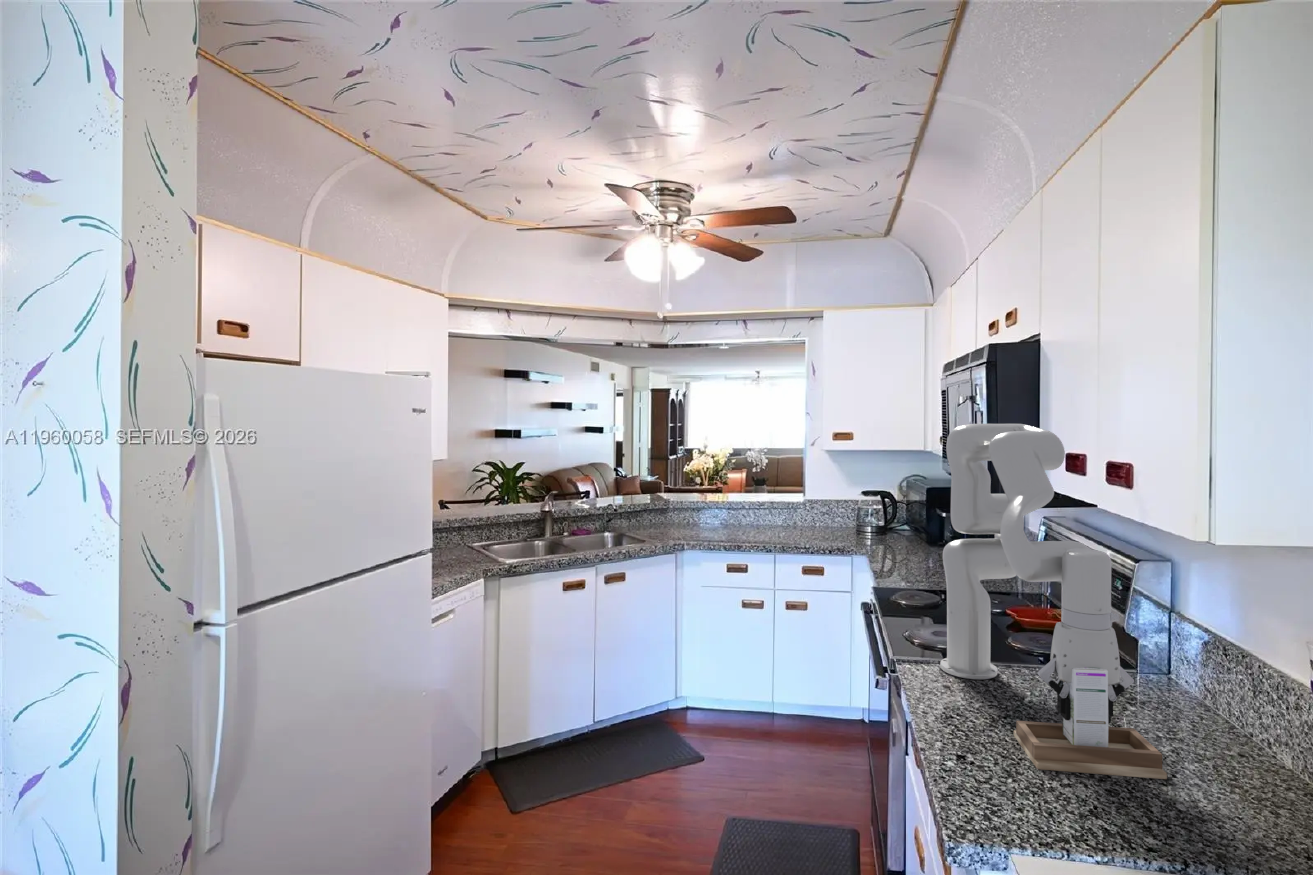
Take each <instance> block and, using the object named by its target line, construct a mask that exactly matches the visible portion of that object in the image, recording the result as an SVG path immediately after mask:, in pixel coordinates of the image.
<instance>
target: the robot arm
mask: <svg viewBox="0 0 1313 875" xmlns="http://www.w3.org/2000/svg"><path fill="white" fill-rule="evenodd" d="M945 448H946V449H945V450H946V457H947V461H948V465H949V469H950V475H951V481H950V486H951V487H950V522H951V525H952V528H953V529H954V530H955V531H956V532H958V533H961V534H967V535H994V538H960V539H954V540H953V541H950V542H948V543H947V544H945V546H944V547H943V551H942V563H943V569H944V573H945V574H944V575H945V580H946V581H945V582H946V584H945V585H946V657H945V658H943V659H941V660H940V661H939V667H940V669H941V670H942V671H943V672H945V673H947V674H949V675H951V676H954V677H958V678H963V679H968V680H990V679H993V678H995V677H997V676H998V671H999V670H998V667H997V666H995V665H994V664H993V663H991V618H992V617H991V615H992V614H991V598H990V595H989V593H988V591H987V589H985V588H984V585H982V583H981V581H983V580H994V579H995V580H1001V579H1002V580H1004V579H1011V578H1015V577H1018V578H1019V579H1021V580H1022V581H1026V582H1031V583H1033V582H1034V583H1037V582H1038V583H1040V582H1043V583H1044V582H1061V621H1057V622H1056V623H1055V626H1054V630H1053V636H1052V641H1051V648H1050V658H1049V660H1050V661H1049V662H1048V663H1046V664H1045V665H1044V666H1043V667H1042V668H1040V670H1038V671H1037V675H1038V677H1039V678H1040V679H1042V680H1043V681H1044V683H1046V684H1047V685H1048V686H1049V687H1050V688H1051V689H1052V690H1053V691H1054V692H1055V693H1056V694H1057V695H1056V700H1057V701H1056V709H1057V712H1058V713H1059V714H1060V716H1061V717H1062V719H1063V718H1064V719H1065V720H1070V715H1071V711H1070V699H1069V698H1068V693H1069V691H1070V683H1071V682H1072V669H1073V668H1100V669H1106V670H1107V671H1108V724H1111V722H1112V717H1114V702H1115V701H1116V700H1118V699H1117V697H1119V696H1120V695H1121V694H1123V693H1124V691H1125V689H1127V688H1129V687H1130V686H1131V685H1132V684H1134V683H1135V679H1134V678H1133V677H1132V676H1131V675H1130V674H1129V673H1128V672H1127V671H1126V670H1125V669H1124V668H1123V667H1122V666H1121V662H1120V653H1119V652H1120V651H1119V644H1118V638H1117V635H1116V631H1115V629H1114V628H1113V623H1114V622H1119V621H1120V614H1119V613H1114V612H1113V611H1112V559H1111V556H1110V555H1109V554H1108V553H1106V552H1104V551H1101V550H1098V549H1093V548H1091V547H1089V546H1087V545H1086V544H1084V543H1082V542H1079V541H1074V540H1038V541H1037V540H1036V541H1035V540H1034V541H1029V539H1028V536H1027V535H1026V532H1025V530H1024V529H1025V528H1024V524H1025V523H1024V521H1025V520H1024V519H1025V518H1024V517H1025V516H1026V515H1028V514H1030V513H1033V512H1035V511H1036V510H1037V511H1038V510H1039V509H1041V508H1043V507H1045V506H1046V505H1047V504H1049V503H1050V502H1051V501H1052V499H1053V498H1054V496H1055V490H1054V487H1053V485H1052V483H1051V481H1050V478H1049V476H1048V475H1047V473H1046V471H1054V470H1057V469H1058V468H1060V467H1061V466H1062V464H1064V461H1065V457H1066V450H1065V446H1064V444H1063V441H1062V440H1061V439H1060V438H1059V437H1058V436H1057V435H1056V433H1054V432H1053V431H1049V430H1047V429H1044V428H1040V427H1036V426H1032V425H1028V424H1023V423H971V424H969V423H968V424H963V425H959V426H956V427H955V428H953V429H952V430H951V431H950V433H949V434H948V436H947V439H946V447H945ZM985 461H987V462H990V461H991V462H992V465H993V467H994V469H995V472H996V475H997V477H998V479H999V482H1000V484H1001V486H1002V489H1003V491H1004V493H991V483H992V482H991V481H992V478H991V474H990V471H989V470H988V468H987V466H986V465H985V463H983V462H985ZM1052 674H1055V675H1057V677H1058V679H1057V681H1055V680H1054V679H1053V678H1052V677H1051V675H1052Z"/></svg>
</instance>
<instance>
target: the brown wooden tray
mask: <svg viewBox="0 0 1313 875" xmlns="http://www.w3.org/2000/svg"><path fill="white" fill-rule="evenodd" d="M1015 727H1016V728H1015V729H1014V730H1013V736H1014V739H1016V740H1017V742H1018V744H1019V745H1020V746H1021V748H1022V750H1023V751H1024V752H1025V754H1026V755H1027V756H1028V759H1030V761H1031V762H1032V764H1033V765H1034V766H1035V768H1036V770H1045V771H1054V772H1055V771H1057V772H1067V773H1068V772H1070V773H1081V774H1083V773H1084V774H1092V775H1093V774H1095V775H1096V774H1097V775H1106V776H1107V775H1108V776H1120V777H1121V776H1122V777H1134V778H1143V779H1144V778H1146V779H1161V780H1168V772H1166V771H1165V770H1164V769H1163V754H1162V753H1161V751H1160V750H1158V749H1157V748H1156V747H1155V746H1154V745H1153V744H1151V743H1150V742H1149V741H1148V740H1147V739H1146V738H1145V737H1144V736H1143V735H1142V734H1141V733H1139V731H1137V729H1135V728H1133V727H1132V728H1131V727H1121V726H1119V727H1117V726H1108V747H1095V746H1081V745H1071V743H1070V742H1069V741H1068V740H1067V739H1066V737H1065V736H1064V735H1063V723H1059V722H1058V723H1057V722H1046V721H1045V722H1042V721H1030V720H1029V721H1028V720H1027V721H1026V720H1016V721H1015Z"/></svg>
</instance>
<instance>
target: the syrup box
mask: <svg viewBox="0 0 1313 875" xmlns="http://www.w3.org/2000/svg"><path fill="white" fill-rule="evenodd" d="M1068 698H1069V699H1070V711H1071V715H1070V720H1065V719H1064V718H1063V717H1062V724H1063V735H1064V736H1065V737H1066V739H1067V740H1068V741H1069V742H1070V743H1071V745H1081V746H1095V747H1108V727H1109V723H1108V671H1107V670H1106V669H1100V668H1073V669H1072V682H1071V683H1070V691H1069V693H1068Z"/></svg>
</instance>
